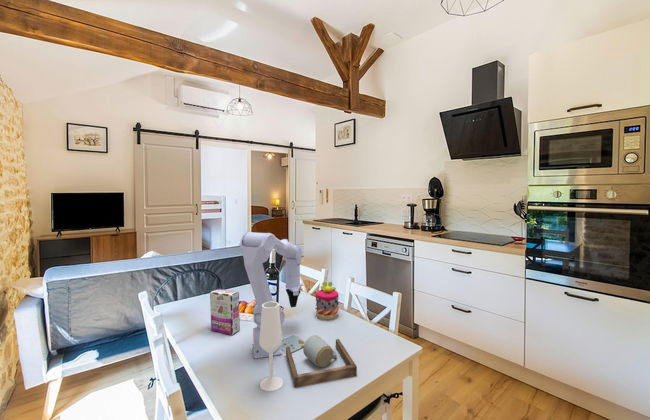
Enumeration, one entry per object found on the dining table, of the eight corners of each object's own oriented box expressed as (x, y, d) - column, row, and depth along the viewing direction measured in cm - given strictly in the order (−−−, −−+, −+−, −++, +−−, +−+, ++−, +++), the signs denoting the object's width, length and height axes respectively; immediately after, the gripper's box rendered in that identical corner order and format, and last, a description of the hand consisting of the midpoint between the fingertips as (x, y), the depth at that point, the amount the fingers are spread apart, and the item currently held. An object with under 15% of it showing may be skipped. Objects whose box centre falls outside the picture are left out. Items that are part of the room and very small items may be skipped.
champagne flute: (283, 375, 89) (282, 299, 87) (282, 390, 82) (281, 308, 81) (261, 377, 88) (259, 300, 87) (258, 392, 82) (257, 309, 80)
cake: (342, 318, 129) (342, 285, 128) (320, 322, 125) (320, 288, 124) (332, 309, 138) (332, 279, 137) (312, 313, 134) (312, 281, 133)
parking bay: (294, 387, 83) (294, 377, 83) (286, 355, 100) (286, 346, 100) (356, 375, 89) (356, 366, 89) (338, 346, 105) (338, 339, 105)
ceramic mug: (316, 372, 90) (317, 348, 90) (302, 360, 97) (302, 338, 97) (342, 361, 97) (342, 338, 97) (327, 350, 103) (327, 329, 103)
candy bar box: (240, 330, 118) (239, 291, 117) (232, 336, 113) (231, 295, 112) (219, 325, 122) (218, 287, 121) (210, 331, 117) (209, 291, 116)
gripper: (306, 278, 112) (306, 312, 113) (299, 268, 126) (299, 299, 127) (288, 280, 110) (288, 314, 111) (283, 270, 124) (283, 300, 125)
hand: (293, 306), depth 119 cm, fingers closed
